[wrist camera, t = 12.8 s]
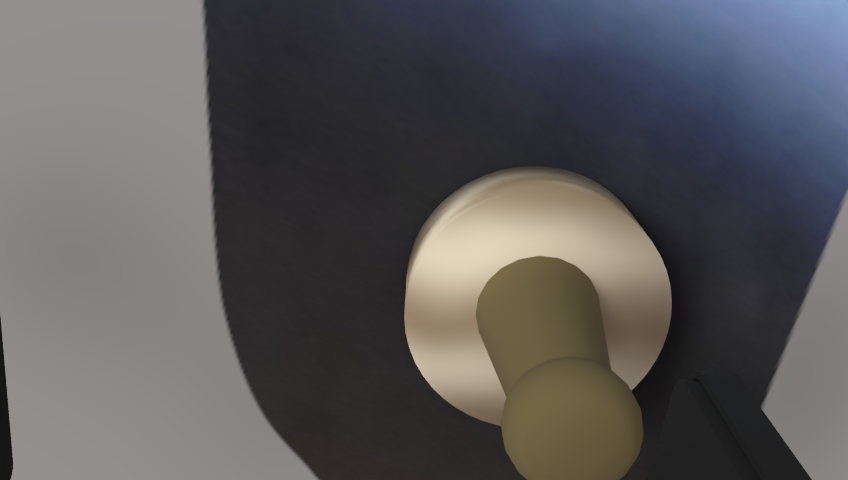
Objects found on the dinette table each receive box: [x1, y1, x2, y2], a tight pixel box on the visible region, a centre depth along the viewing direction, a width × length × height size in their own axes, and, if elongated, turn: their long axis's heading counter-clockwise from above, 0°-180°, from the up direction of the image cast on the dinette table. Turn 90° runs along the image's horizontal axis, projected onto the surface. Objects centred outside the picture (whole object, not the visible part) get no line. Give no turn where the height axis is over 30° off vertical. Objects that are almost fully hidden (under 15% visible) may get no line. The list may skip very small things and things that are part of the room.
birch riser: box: [404, 166, 672, 426], centre depth 39 cm, size 13×13×4 cm
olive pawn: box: [476, 256, 643, 480], centre depth 32 cm, size 6×6×11 cm
